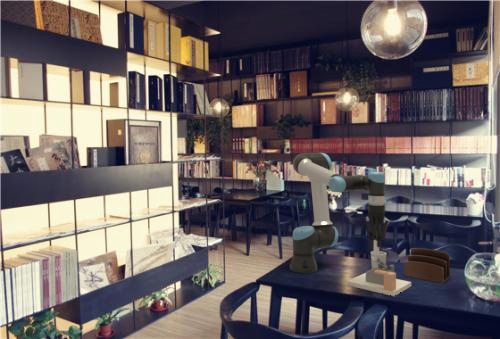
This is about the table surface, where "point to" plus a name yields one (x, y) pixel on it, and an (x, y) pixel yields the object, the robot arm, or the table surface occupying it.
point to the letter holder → (428, 265)
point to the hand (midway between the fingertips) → (376, 253)
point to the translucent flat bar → (380, 262)
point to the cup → (381, 256)
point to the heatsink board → (378, 287)
